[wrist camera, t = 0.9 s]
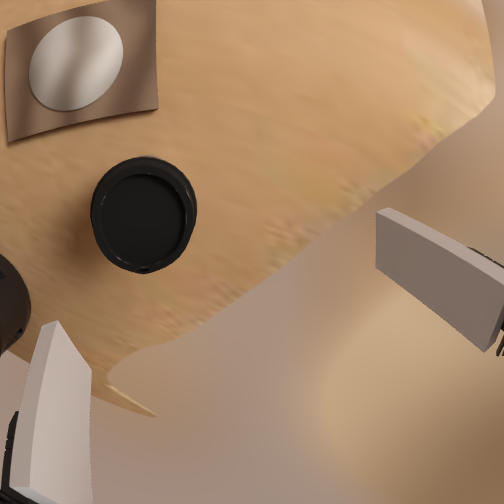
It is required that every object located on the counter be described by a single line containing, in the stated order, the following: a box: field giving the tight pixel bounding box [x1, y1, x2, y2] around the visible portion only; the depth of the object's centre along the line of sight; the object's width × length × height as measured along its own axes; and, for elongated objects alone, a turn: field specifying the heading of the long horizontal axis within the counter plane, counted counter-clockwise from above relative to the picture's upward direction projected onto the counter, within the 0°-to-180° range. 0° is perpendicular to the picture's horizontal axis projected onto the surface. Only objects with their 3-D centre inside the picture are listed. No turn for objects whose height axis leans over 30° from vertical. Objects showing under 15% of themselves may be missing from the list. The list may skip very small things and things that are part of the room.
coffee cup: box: [90, 155, 197, 274], centre depth 27 cm, size 8×8×15 cm
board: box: [5, 0, 158, 142], centre depth 24 cm, size 18×14×2 cm
